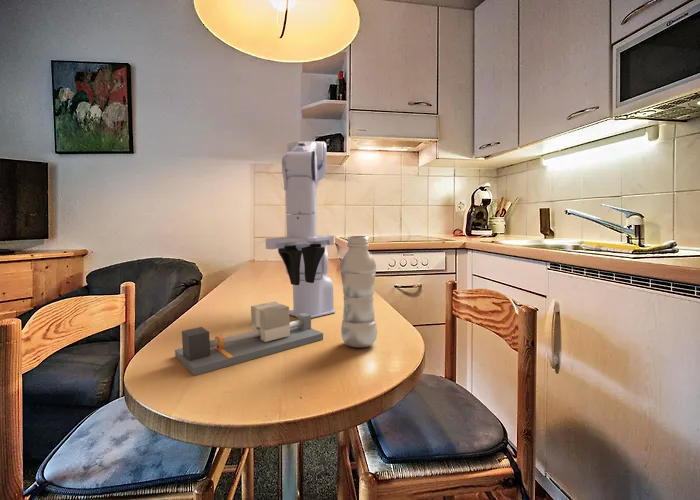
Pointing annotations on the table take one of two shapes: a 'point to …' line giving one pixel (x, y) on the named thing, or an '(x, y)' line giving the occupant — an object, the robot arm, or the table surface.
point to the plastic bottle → (358, 294)
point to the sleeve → (271, 320)
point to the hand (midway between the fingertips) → (302, 283)
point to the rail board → (238, 346)
